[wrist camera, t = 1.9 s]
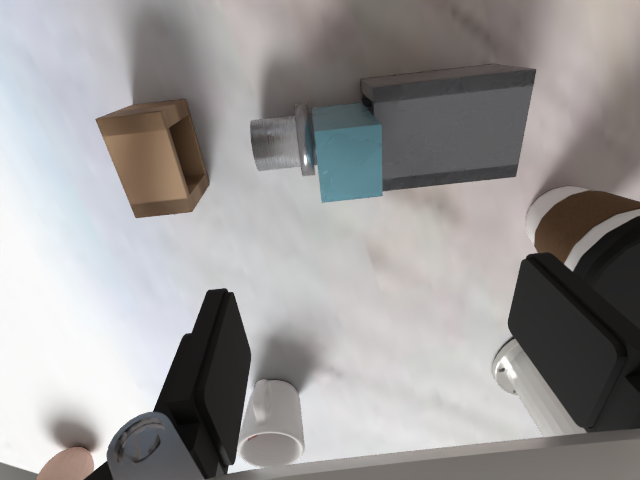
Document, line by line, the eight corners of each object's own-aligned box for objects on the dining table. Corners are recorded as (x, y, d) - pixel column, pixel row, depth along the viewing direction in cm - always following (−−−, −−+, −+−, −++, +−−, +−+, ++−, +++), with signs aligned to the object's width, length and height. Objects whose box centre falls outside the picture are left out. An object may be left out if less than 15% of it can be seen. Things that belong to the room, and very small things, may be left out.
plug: (480, 78, 29) (558, 95, 20) (472, 145, 32) (537, 186, 23) (253, 104, 29) (232, 132, 20) (265, 168, 32) (251, 217, 23)
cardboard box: (185, 98, 29) (160, 111, 24) (209, 184, 33) (191, 212, 28) (132, 104, 29) (95, 119, 24) (162, 189, 33) (135, 218, 28)
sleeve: (493, 63, 29) (536, 69, 23) (481, 154, 32) (515, 176, 27) (360, 78, 29) (373, 87, 24) (364, 167, 33) (375, 191, 27)
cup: (232, 363, 45) (219, 422, 38) (292, 353, 44) (290, 411, 38) (255, 413, 50) (247, 473, 43) (309, 405, 50) (310, 464, 43)
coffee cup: (576, 138, 32) (707, 186, 22) (629, 207, 36) (762, 276, 26) (480, 220, 36) (552, 294, 26) (537, 275, 40) (619, 358, 29)
